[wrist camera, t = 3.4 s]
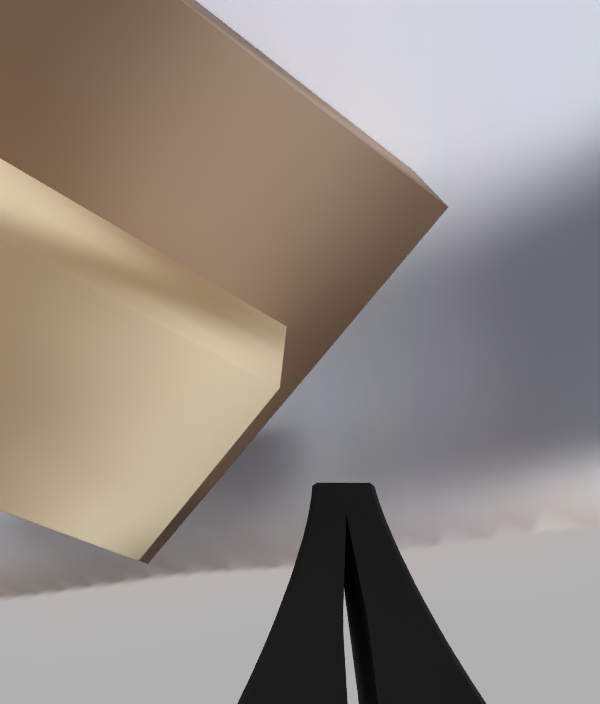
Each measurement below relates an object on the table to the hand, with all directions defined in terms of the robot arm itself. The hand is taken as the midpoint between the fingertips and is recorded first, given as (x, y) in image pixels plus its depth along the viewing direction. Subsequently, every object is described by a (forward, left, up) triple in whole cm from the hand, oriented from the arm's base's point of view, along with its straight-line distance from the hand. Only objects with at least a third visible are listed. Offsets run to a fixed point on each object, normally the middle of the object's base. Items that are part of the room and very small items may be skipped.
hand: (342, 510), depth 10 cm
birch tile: (+7, 0, -1) cm, 7 cm away
